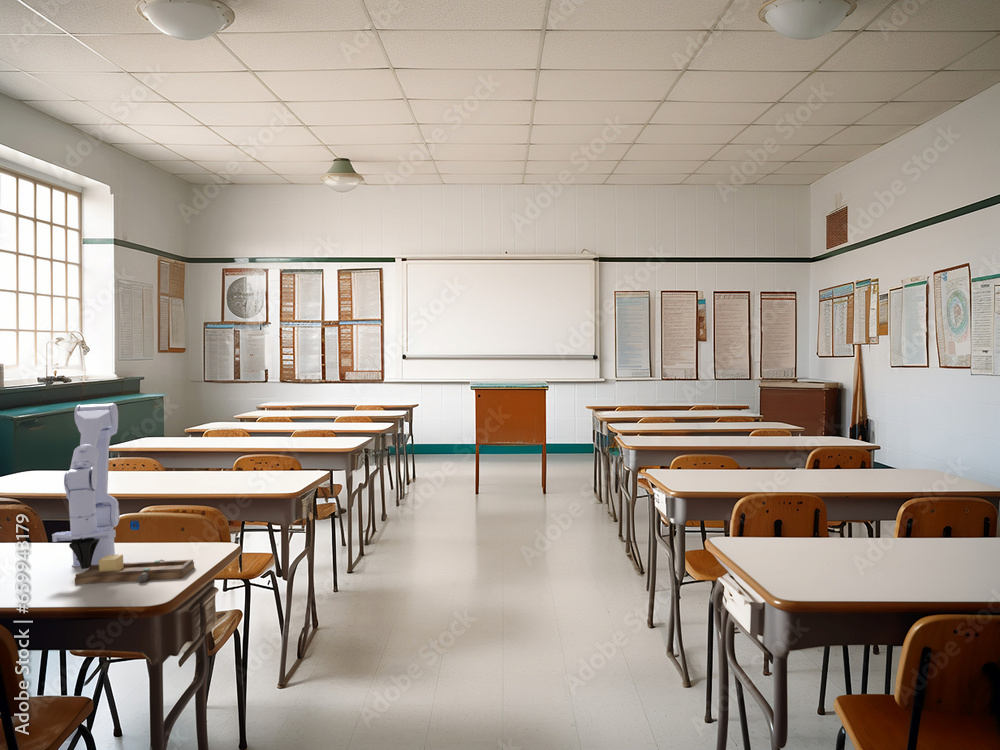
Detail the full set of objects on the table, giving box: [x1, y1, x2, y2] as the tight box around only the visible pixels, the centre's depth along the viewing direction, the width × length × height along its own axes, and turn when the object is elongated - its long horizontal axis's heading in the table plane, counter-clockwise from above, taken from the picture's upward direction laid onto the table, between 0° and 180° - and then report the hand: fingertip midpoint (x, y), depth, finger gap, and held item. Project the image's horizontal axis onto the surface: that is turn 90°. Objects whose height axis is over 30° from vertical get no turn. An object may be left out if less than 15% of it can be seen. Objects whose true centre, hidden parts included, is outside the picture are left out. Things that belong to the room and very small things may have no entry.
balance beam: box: [74, 559, 195, 585], centre depth 169 cm, size 26×12×2 cm, turn 95°
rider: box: [99, 553, 124, 572], centre depth 168 cm, size 4×4×4 cm
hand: (86, 567), depth 168 cm, fingers closed
